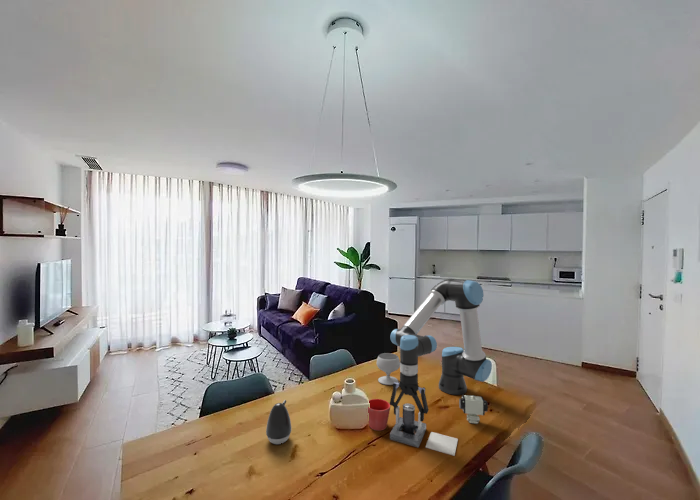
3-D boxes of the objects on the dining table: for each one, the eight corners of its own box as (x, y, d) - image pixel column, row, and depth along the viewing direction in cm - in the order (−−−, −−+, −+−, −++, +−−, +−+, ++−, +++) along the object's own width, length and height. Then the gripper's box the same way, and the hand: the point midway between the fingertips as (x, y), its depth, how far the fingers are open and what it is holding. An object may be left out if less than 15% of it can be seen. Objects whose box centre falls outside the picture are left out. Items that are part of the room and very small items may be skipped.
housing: (399, 422, 140) (399, 416, 140) (426, 429, 134) (426, 423, 134) (389, 439, 127) (389, 433, 127) (418, 447, 122) (418, 441, 122)
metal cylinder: (404, 429, 134) (404, 402, 134) (415, 432, 132) (415, 405, 132) (401, 435, 130) (401, 407, 130) (412, 439, 127) (412, 410, 127)
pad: (431, 432, 132) (431, 431, 132) (457, 439, 127) (457, 438, 127) (425, 447, 122) (425, 446, 122) (454, 455, 117) (454, 454, 117)
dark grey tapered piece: (296, 435, 130) (296, 399, 130) (283, 450, 120) (283, 412, 120) (275, 430, 133) (275, 395, 133) (260, 445, 123) (261, 407, 123)
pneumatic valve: (487, 426, 137) (488, 399, 137) (460, 423, 139) (460, 396, 139) (485, 419, 142) (485, 393, 142) (458, 416, 145) (458, 391, 145)
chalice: (377, 375, 191) (377, 351, 191) (399, 377, 189) (399, 352, 189) (375, 385, 177) (376, 359, 177) (400, 387, 175) (400, 361, 175)
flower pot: (376, 416, 145) (376, 396, 145) (394, 426, 137) (395, 404, 137) (360, 425, 137) (361, 403, 137) (379, 436, 129) (379, 413, 129)
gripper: (381, 371, 132) (381, 422, 132) (432, 380, 122) (432, 436, 123) (387, 365, 139) (387, 414, 139) (436, 374, 129) (436, 427, 129)
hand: (408, 424), depth 131 cm, fingers open, 9 cm apart
